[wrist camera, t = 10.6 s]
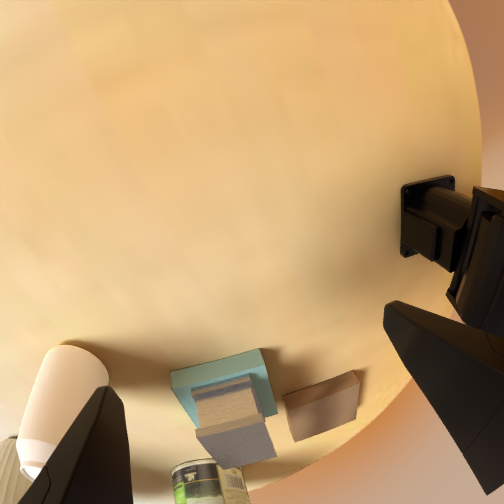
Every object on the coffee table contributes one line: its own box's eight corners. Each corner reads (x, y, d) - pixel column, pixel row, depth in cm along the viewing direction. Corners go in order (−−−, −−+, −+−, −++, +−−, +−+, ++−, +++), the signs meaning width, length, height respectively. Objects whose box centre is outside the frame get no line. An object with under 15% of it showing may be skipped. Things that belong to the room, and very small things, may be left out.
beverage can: (45, 373, 22) (16, 480, 11) (49, 327, 20) (5, 449, 9) (104, 394, 24) (94, 506, 13) (117, 353, 22) (102, 484, 12)
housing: (263, 415, 27) (277, 456, 22) (214, 427, 26) (223, 470, 22) (248, 373, 23) (263, 421, 19) (190, 388, 23) (196, 437, 18)
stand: (259, 348, 25) (264, 364, 23) (272, 399, 29) (278, 413, 27) (170, 371, 24) (171, 388, 22) (199, 418, 28) (201, 433, 26)
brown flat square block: (351, 370, 30) (360, 383, 28) (349, 407, 33) (355, 419, 32) (282, 396, 29) (287, 410, 27) (289, 429, 32) (294, 442, 31)
